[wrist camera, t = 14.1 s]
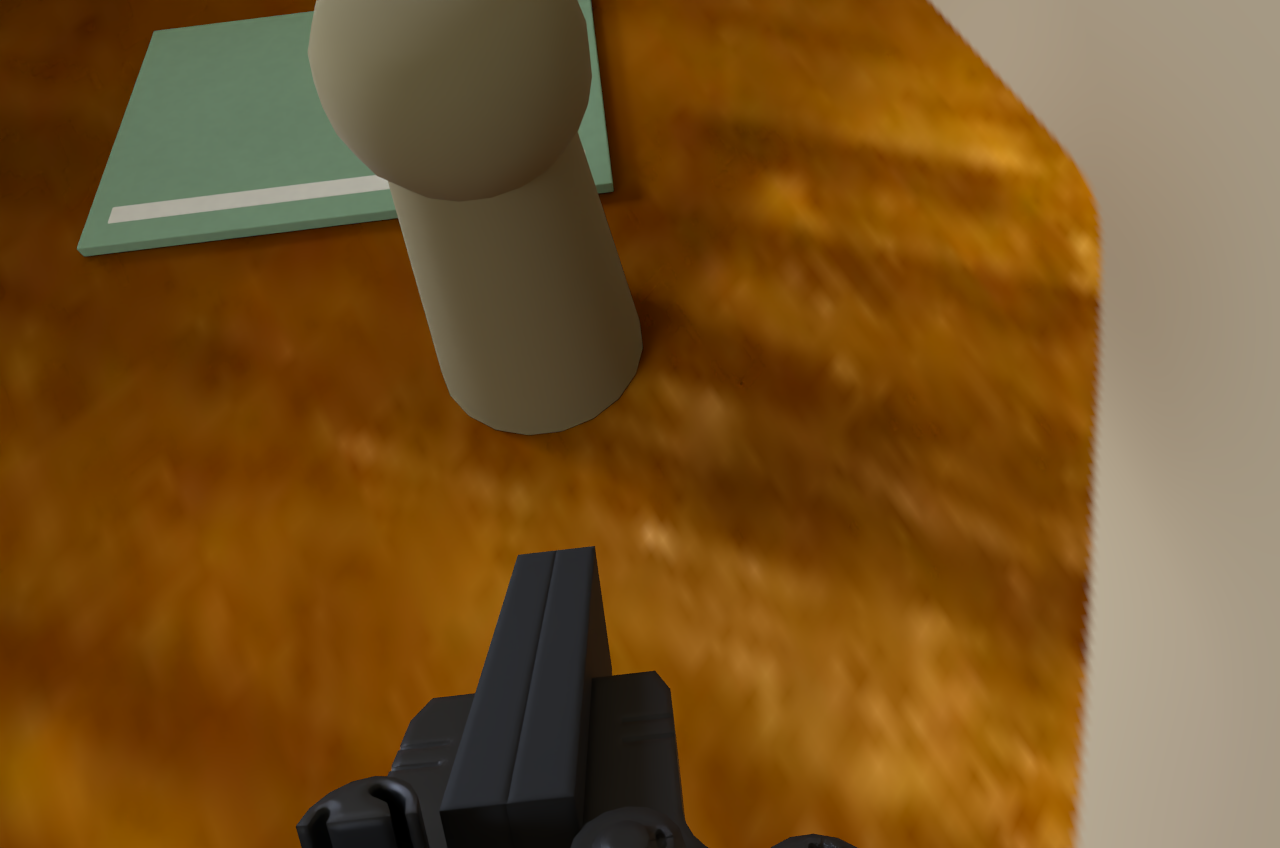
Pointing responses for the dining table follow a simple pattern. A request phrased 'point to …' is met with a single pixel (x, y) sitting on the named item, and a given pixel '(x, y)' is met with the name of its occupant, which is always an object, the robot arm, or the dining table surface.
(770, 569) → the dining table surface
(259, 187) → the cloth
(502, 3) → the cork
